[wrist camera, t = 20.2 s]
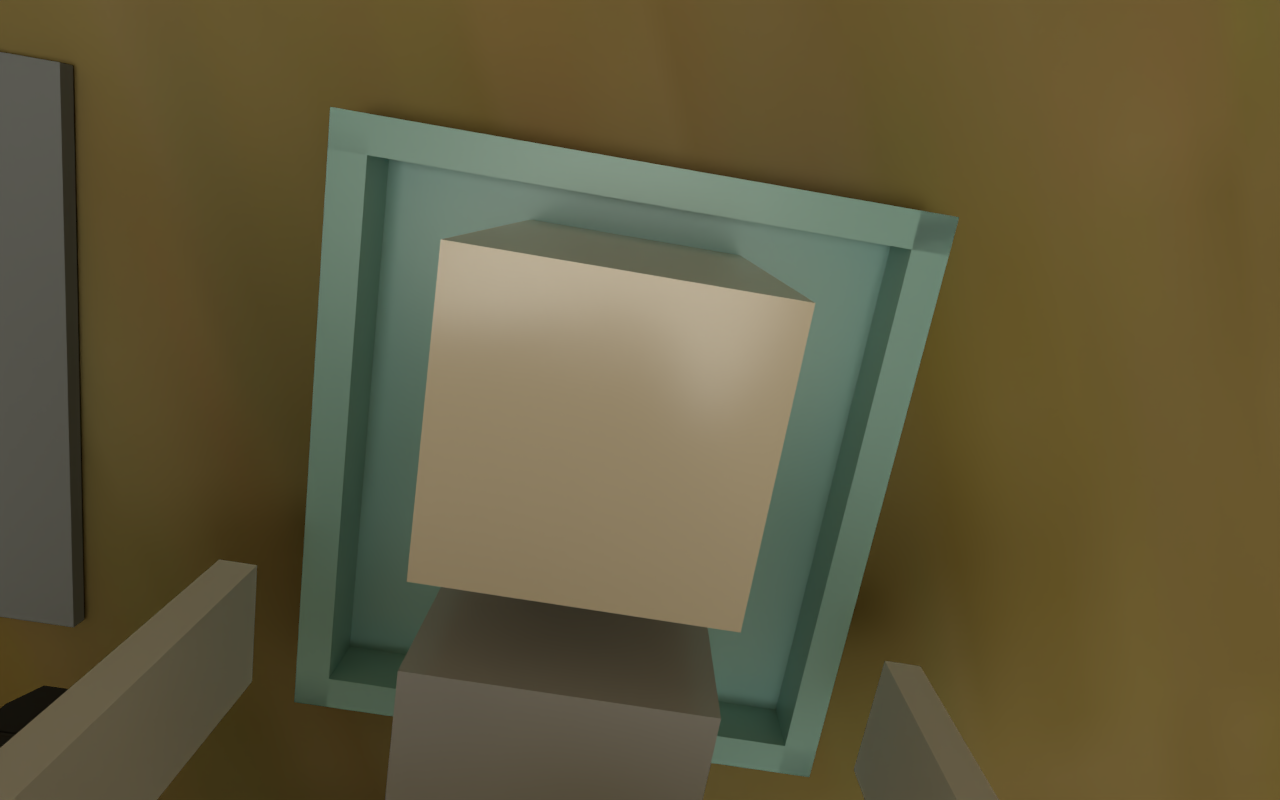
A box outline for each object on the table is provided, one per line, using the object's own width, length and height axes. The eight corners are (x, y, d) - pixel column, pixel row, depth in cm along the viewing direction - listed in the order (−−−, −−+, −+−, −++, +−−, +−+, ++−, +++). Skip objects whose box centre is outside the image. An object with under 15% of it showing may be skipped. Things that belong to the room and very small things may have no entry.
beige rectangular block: (505, 420, 19) (406, 581, 11) (530, 219, 17) (440, 238, 10) (700, 452, 19) (741, 632, 11) (740, 255, 18) (815, 302, 10)
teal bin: (326, 655, 21) (294, 701, 19) (365, 116, 17) (330, 106, 15) (794, 724, 21) (809, 776, 20) (924, 214, 18) (959, 217, 16)
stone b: (476, 646, 20) (372, 926, 12) (497, 476, 19) (397, 670, 11) (656, 673, 20) (664, 966, 13) (689, 507, 19) (720, 718, 11)
